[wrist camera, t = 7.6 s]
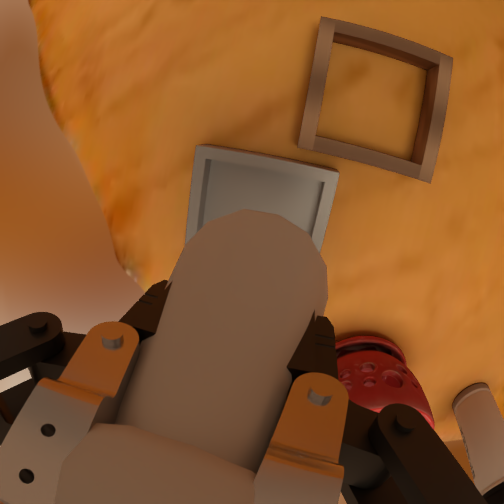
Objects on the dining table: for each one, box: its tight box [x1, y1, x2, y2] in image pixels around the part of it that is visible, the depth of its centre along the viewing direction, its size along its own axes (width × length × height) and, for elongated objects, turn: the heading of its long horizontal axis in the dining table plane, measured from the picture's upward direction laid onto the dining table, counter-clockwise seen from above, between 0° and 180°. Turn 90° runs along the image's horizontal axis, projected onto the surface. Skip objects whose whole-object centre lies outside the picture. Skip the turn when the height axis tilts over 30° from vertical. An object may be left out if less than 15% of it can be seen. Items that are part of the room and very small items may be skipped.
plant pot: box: [335, 336, 434, 430], centre depth 28 cm, size 13×13×12 cm
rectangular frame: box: [298, 17, 453, 184], centre depth 22 cm, size 11×11×3 cm
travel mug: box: [453, 383, 504, 504], centre depth 24 cm, size 6×7×20 cm
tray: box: [185, 144, 340, 254], centre depth 28 cm, size 12×12×2 cm
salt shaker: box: [54, 209, 328, 504], centre depth 8 cm, size 6×6×13 cm
